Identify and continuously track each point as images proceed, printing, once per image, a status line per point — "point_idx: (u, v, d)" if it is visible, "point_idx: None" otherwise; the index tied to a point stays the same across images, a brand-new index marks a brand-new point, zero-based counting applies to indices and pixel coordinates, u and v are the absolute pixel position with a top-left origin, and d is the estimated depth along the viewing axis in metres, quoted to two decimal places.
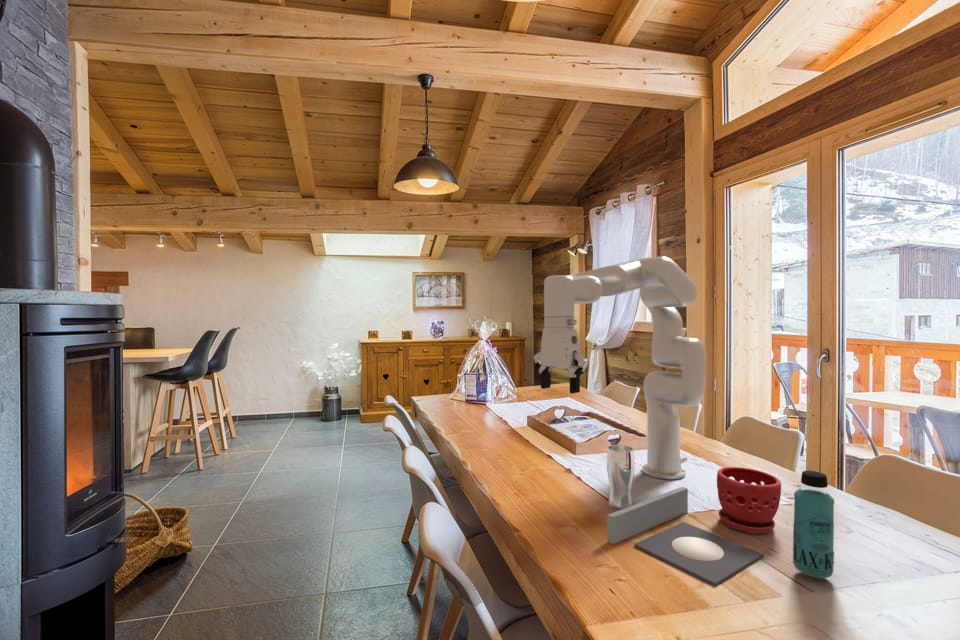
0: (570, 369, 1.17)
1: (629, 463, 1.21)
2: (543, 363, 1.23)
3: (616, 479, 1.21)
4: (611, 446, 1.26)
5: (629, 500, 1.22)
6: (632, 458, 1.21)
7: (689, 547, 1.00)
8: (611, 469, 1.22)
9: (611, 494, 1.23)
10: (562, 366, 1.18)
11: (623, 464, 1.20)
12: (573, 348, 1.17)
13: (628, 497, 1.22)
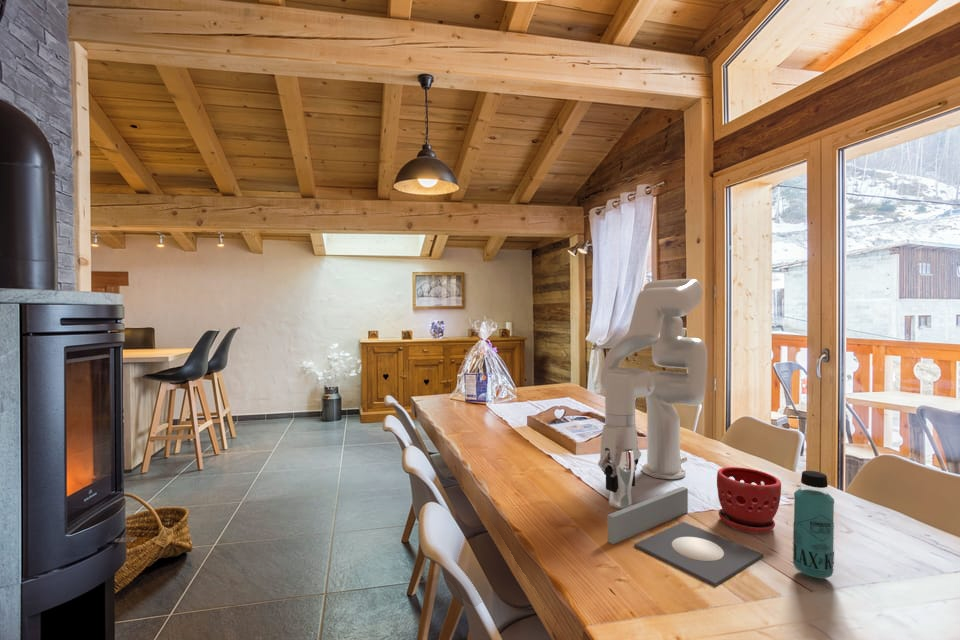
0: None
1: (629, 463, 1.21)
2: (617, 463, 1.20)
3: None
4: None
5: (629, 500, 1.22)
6: (632, 458, 1.21)
7: (689, 547, 1.00)
8: (611, 469, 1.22)
9: (611, 494, 1.23)
10: None
11: (623, 464, 1.20)
12: None
13: (628, 497, 1.22)
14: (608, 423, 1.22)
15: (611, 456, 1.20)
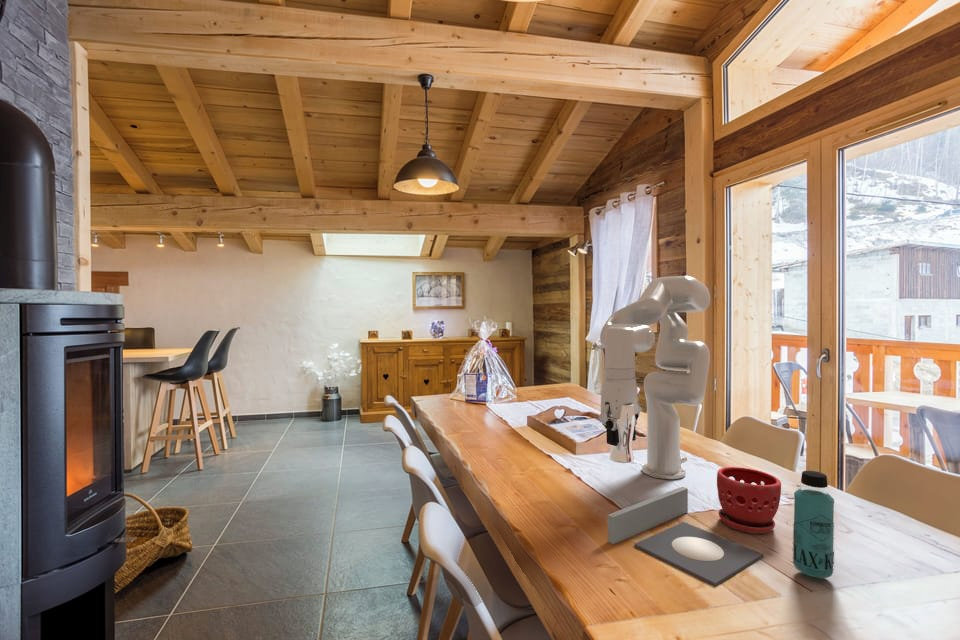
0: None
1: (629, 416, 1.21)
2: (617, 417, 1.20)
3: None
4: None
5: (630, 454, 1.22)
6: (632, 412, 1.21)
7: (689, 547, 1.00)
8: None
9: (612, 448, 1.23)
10: None
11: (623, 418, 1.20)
12: None
13: (629, 451, 1.22)
14: (608, 377, 1.22)
15: (611, 409, 1.20)
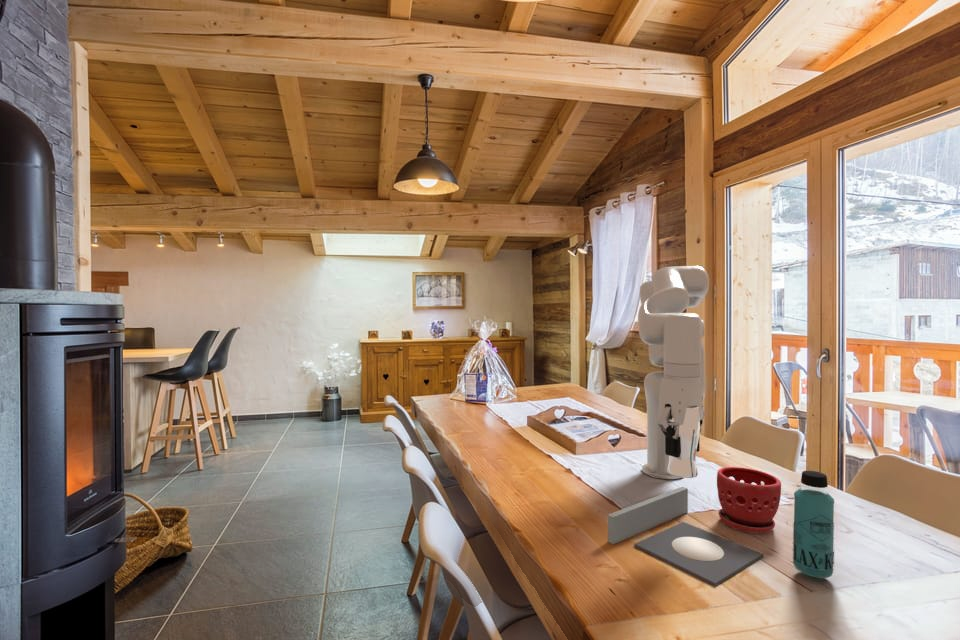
0: None
1: (695, 422, 1.00)
2: (680, 422, 0.99)
3: None
4: None
5: (694, 467, 1.01)
6: (698, 416, 1.01)
7: (689, 547, 1.00)
8: (672, 429, 1.01)
9: (671, 460, 1.03)
10: None
11: (687, 423, 1.00)
12: None
13: (693, 463, 1.01)
14: (668, 374, 1.01)
15: (673, 413, 0.99)
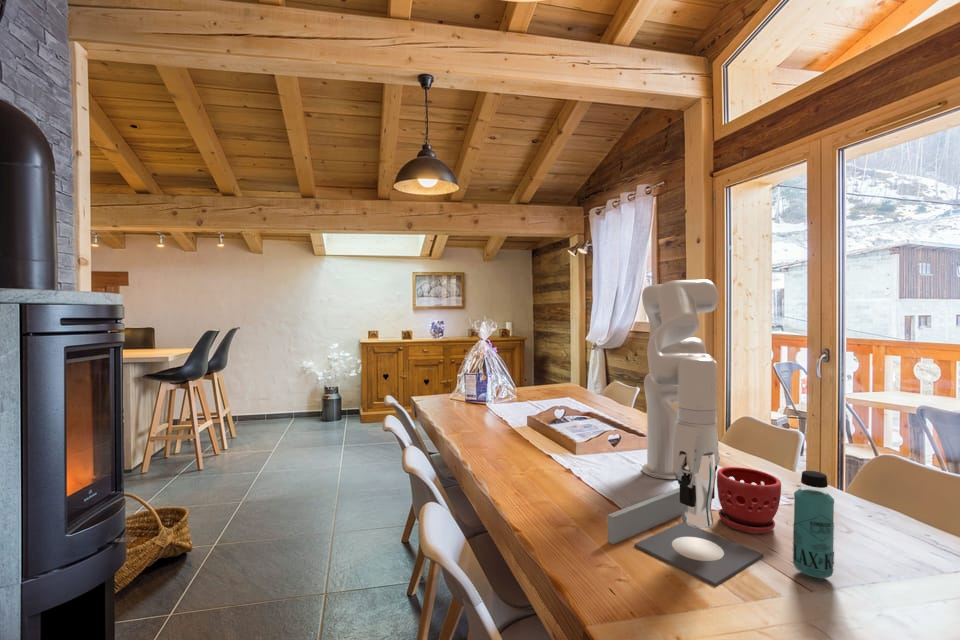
0: None
1: (711, 470, 0.96)
2: (696, 471, 0.96)
3: None
4: None
5: (710, 516, 0.97)
6: (714, 464, 0.97)
7: (689, 547, 1.00)
8: (687, 477, 0.98)
9: (686, 508, 0.99)
10: None
11: (703, 472, 0.96)
12: None
13: (708, 513, 0.97)
14: (683, 420, 0.98)
15: (689, 462, 0.95)
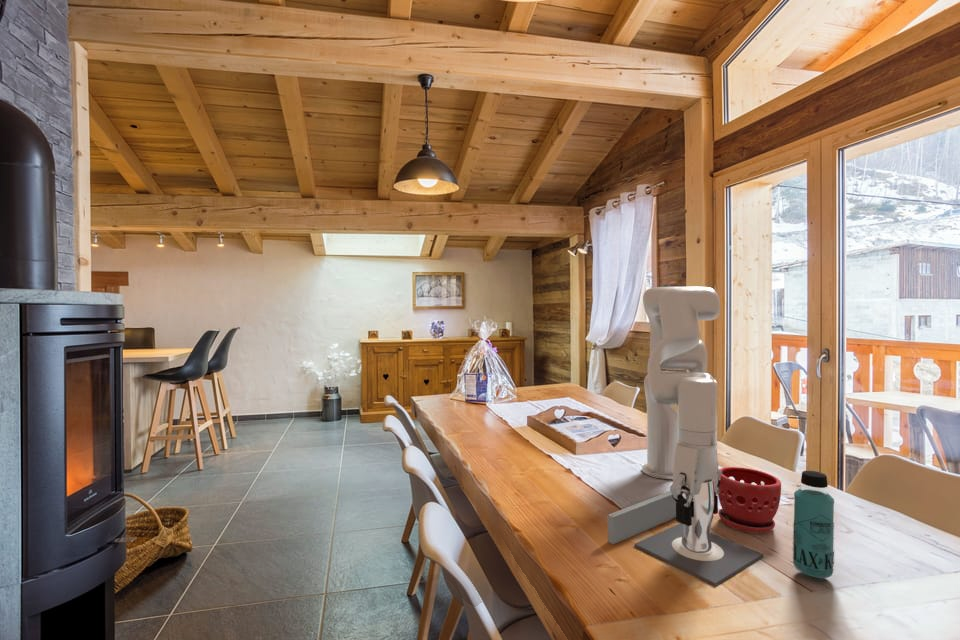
0: (715, 486, 1.01)
1: (710, 497, 0.97)
2: (696, 492, 0.96)
3: (693, 517, 0.97)
4: None
5: (709, 543, 0.98)
6: (713, 491, 0.97)
7: None
8: None
9: (685, 535, 0.99)
10: None
11: (702, 499, 0.96)
12: None
13: (708, 539, 0.98)
14: (683, 441, 0.98)
15: (689, 483, 0.96)
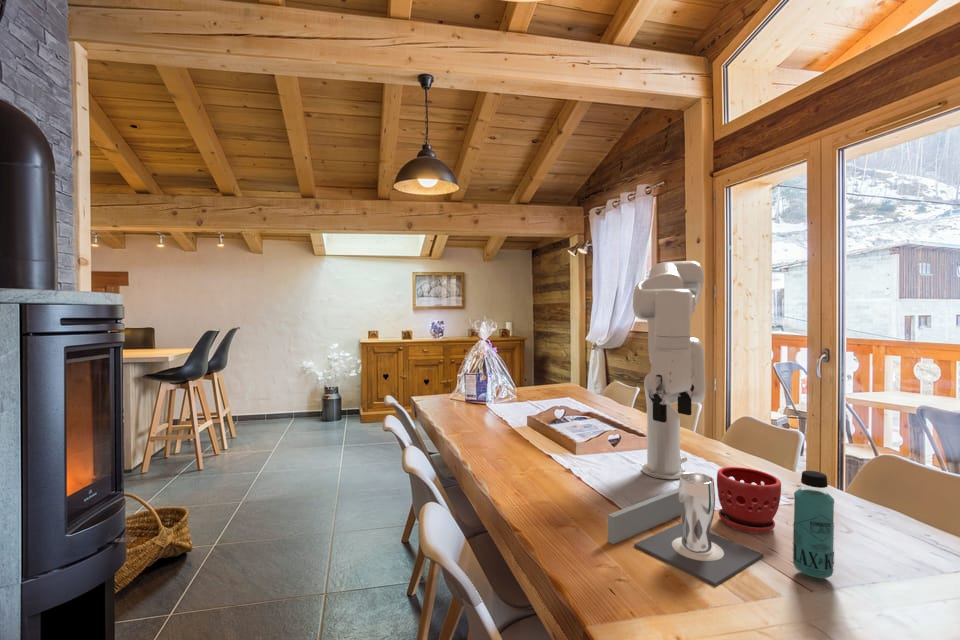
0: (689, 390, 1.10)
1: (710, 497, 0.97)
2: (670, 391, 1.05)
3: (693, 517, 0.97)
4: (683, 474, 1.02)
5: (709, 543, 0.98)
6: (713, 491, 0.97)
7: None
8: (687, 504, 0.98)
9: (685, 535, 0.99)
10: (687, 389, 1.08)
11: (702, 499, 0.96)
12: None
13: (708, 539, 0.98)
14: (659, 347, 1.07)
15: (664, 383, 1.05)
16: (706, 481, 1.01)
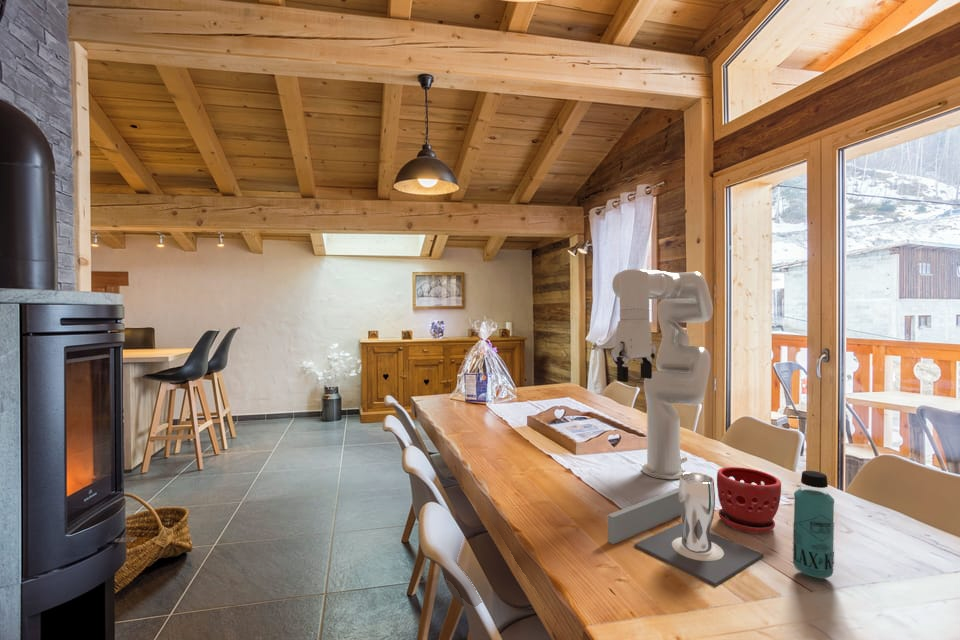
0: (649, 356, 1.28)
1: (710, 497, 0.96)
2: (631, 355, 1.23)
3: (693, 517, 0.97)
4: (683, 475, 1.02)
5: (709, 543, 0.98)
6: (713, 491, 0.97)
7: None
8: (687, 504, 0.98)
9: (685, 535, 0.99)
10: (647, 355, 1.26)
11: (702, 499, 0.96)
12: None
13: (708, 539, 0.98)
14: (623, 318, 1.25)
15: (626, 348, 1.22)
16: (706, 481, 1.01)
